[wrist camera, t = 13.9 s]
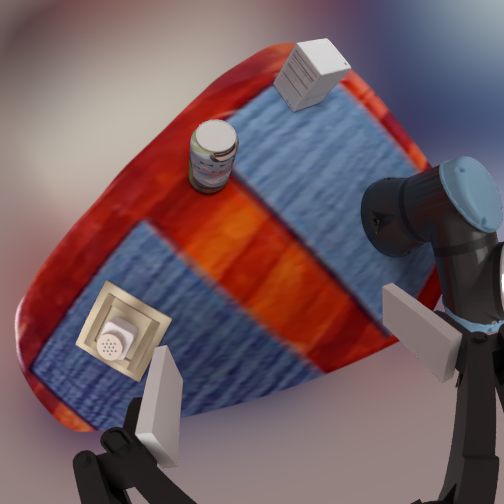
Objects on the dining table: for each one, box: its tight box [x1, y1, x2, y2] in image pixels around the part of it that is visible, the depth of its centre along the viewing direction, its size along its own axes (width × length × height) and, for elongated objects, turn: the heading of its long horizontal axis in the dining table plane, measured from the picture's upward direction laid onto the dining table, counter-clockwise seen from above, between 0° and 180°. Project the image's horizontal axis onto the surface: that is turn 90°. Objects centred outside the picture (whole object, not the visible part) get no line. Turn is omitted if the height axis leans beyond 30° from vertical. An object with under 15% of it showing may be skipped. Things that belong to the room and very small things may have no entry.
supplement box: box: [273, 39, 351, 112], centre depth 45 cm, size 7×7×13 cm
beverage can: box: [189, 120, 239, 193], centre depth 39 cm, size 6×7×12 cm
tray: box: [76, 280, 172, 382], centre depth 39 cm, size 11×11×2 cm
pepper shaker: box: [96, 316, 138, 361], centre depth 34 cm, size 4×4×10 cm
